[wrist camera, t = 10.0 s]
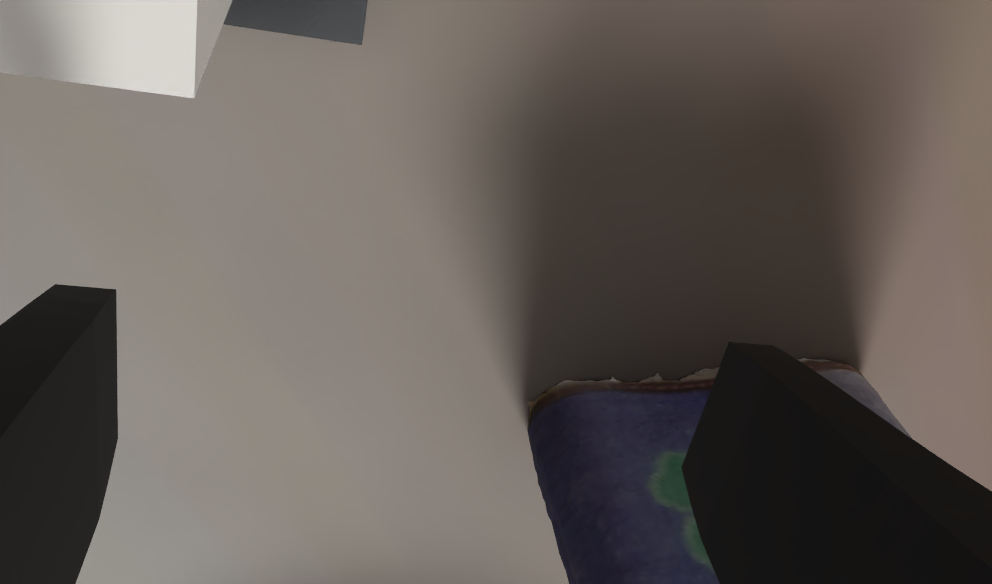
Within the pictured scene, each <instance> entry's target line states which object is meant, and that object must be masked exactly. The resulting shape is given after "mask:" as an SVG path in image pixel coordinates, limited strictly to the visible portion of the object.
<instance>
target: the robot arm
mask: <svg viewBox="0 0 992 584" xmlns="http://www.w3.org/2000/svg"><path fill="white" fill-rule="evenodd" d="M117 439H118V416H117V324H116V290H115V289H103V288H92V287H80V286H68V285H57V284H55V285H54V286H52V287H51V288H50V289H48V290H47V291H45V292H44V293H43V294H41V295H40V296H39V297H37V298H36V299H34V300H33V301H32V302H30V303H29V304H28V305H26V306H25V307H24V308H22V309H21V310H20V311H19V312H17V313H16V314H15V315H13V316H12V317H11V318H9V319H8V320H7V321H6V322H4V323H3V324H2V325H0V584H75V583H76V580H77V578H78V575H79V572H80V570H81V567H82V564H83V561H84V559H85V556H86V553H87V551H88V548H89V545H90V543H91V540H92V537H93V534H94V532H95V529H96V526H97V523H98V520H99V517H100V513H101V509H102V505H103V501H104V496H105V492H106V488H107V484H108V480H109V475H110V471H111V466H112V462H113V457H114V453H115V448H116V444H117ZM681 468H682V472H683V476H684V480H685V484H686V488H687V492H688V496H689V500H690V504H691V507H692V511H693V514H694V518H695V521H696V524H697V528H698V531H699V534H700V538H701V540H702V543H703V545H704V548H705V550H706V553H707V555H708V557H709V560H710V562H711V564H712V567H713V569H714V571H715V574H716V576H717V578H718V581H719V583H720V584H992V491H990V490H988V489H987V488H985V487H984V486H982V485H981V484H979V483H978V482H976V481H974V480H973V479H971V478H970V477H968V476H967V475H965V474H963V473H962V472H960V471H959V470H957V469H956V468H954V467H953V466H951V465H950V464H948V463H947V462H945V461H944V460H942V459H941V458H939V457H938V456H936V455H935V454H933V453H932V452H930V451H929V450H927V449H926V448H925V447H923V446H922V445H920V444H919V443H917V442H916V441H914V440H913V439H912V438H910V437H909V436H907V435H906V434H904V433H903V432H901V431H900V430H899V429H897V428H896V427H894V426H893V425H891V424H890V423H889V422H887V421H886V420H884V419H883V418H882V417H880V416H879V415H877V414H876V413H874V412H873V411H872V410H870V409H869V408H867V407H866V406H865V405H863V404H862V403H860V402H859V401H857V400H856V399H855V398H853V397H852V396H850V395H849V394H847V393H846V392H845V391H843V390H842V389H840V388H839V387H838V386H836V385H835V384H833V383H832V382H830V381H829V380H827V379H826V378H824V377H823V376H822V375H820V374H819V373H817V372H816V371H814V370H813V369H811V368H810V367H808V366H807V365H805V364H803V363H802V362H800V361H799V360H797V359H795V358H794V357H792V356H791V355H789V354H787V353H785V352H784V351H782V350H780V349H778V348H776V347H774V346H768V345H757V344H745V343H733V342H729V344H728V346H727V349H726V352H725V354H724V357H723V359H722V362H721V365H720V367H719V370H718V373H717V375H716V378H715V380H714V383H713V386H712V388H711V391H710V394H709V396H708V399H707V401H706V404H705V407H704V409H703V412H702V414H701V417H700V420H699V422H698V425H697V428H696V430H695V433H694V435H693V438H692V441H691V443H690V446H689V448H688V451H687V454H686V456H685V459H684V462H683V464H682V467H681Z"/></svg>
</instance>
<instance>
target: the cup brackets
mask: <svg viewBox="0 0 992 584" xmlns="http://www.w3.org/2000/svg"><path fill="white" fill-rule="evenodd" d="M366 8H367V0H232V3H231V5H230V8H229V10H228V13H227V15H226V18H225V20H224V23H223V24H226V25H232V26H239V27H245V28H252V29H259V30H265V31H272V32H279V33H285V34H292V35H299V36H305V37H312V38H318V39H325V40H332V41H338V42H345V43H352V44H358V45H362V40H363V32H364V24H365V16H366Z"/></svg>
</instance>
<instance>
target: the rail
mask: <svg viewBox="0 0 992 584" xmlns="http://www.w3.org/2000/svg"><path fill="white" fill-rule="evenodd" d="M231 3H232V0H0V73H6V74H14V75H21V76H29V77H37V78H44V79H52V80H59V81H67V82H74V83H82V84H90V85H97V86H105V87H112V88H120V89H127V90H135V91H143V92H150V93H158V94H165V95H173V96H180V97H188V98H194V97H195V95H196V92H197V90H198V87H199V84H200V82H201V79H202V77H203V74H204V72H205V69H206V67H207V64H208V61H209V59H210V56H211V54H212V51H213V49H214V46H215V43H216V41H217V38H218V36H219V33H220V31H221V28H222V26H223V23H224V20H225V18H226V15H227V13H228V10H229V8H230V5H231Z"/></svg>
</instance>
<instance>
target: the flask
mask: <svg viewBox="0 0 992 584" xmlns="http://www.w3.org/2000/svg"><path fill="white" fill-rule="evenodd" d="M797 360H799V361H800V362H802V363H803V364H805V365H807V366H808V367H810V368H811V369H813V370H814V371H816V372H817V373H819V374H820V375H822V376H823V377H824V378H826V379H827V380H829V381H830V382H832V383H833V384H835V385H836V386H838V387H839V388H840V389H842V390H843V391H845V392H846V393H847V394H849V395H850V396H852V397H853V398H855V399H856V400H857V401H859V402H860V403H862V404H863V405H865V406H866V407H867V408H869V409H870V410H872V411H873V412H874V413H876V414H877V415H879V416H880V417H882V418H883V419H884V420H886V421H887V422H889V423H890V424H891V425H893V426H894V427H896V428H897V429H899V430H900V431H901V432H903V433H904V434H906V435H907V436H909V437H910V435H909V434H908V433H907V432H906V430H905V429H904V428H903V427H902V425H901V424H900V423H899V422H898V420H897V419H896V418H895V416H894V415H893V414H892V413H891V411H890V410H889V409H888V407H887V406H886V404H885V403H884V402H883V400H882V399H881V397H880V396H879V394H878V393H877V392H876V390H875V389H874V388H873V387H872V386H871V385H870V384H869V382H868V381H867V380H866V379H865V377H864V376H863V375H862V374H861V372H859V371H858V370H856V369H855V368H853V367H852V366H850V365H848V364H844V363H838V362H833V361H830V360H825V359H821V360H814V359H811V360H810V359H806V358H802V359H797ZM719 367H720V366H719ZM719 367H717V368H714V369H709V368H704V369H702V370H700V371H698V372H697V371H695V374H694V375H688V376H687V377H685V378H682V379H680V381H677V380H674V381H670V380H663V378H662V377H661V376H660V375H659V374H658V373H657V374H656V375H655V376H653V377H649V378H647V379H645V380H642V381H640V382H631V383H626V382H623V381H619V380H615V378H614V377H611V379H610V380H604V381H601V380H600V381H598V382H597V381H592V380H588V381H571V380H565V381H563V382H560V383H559V384H558V385H557V386H556V385H555V386H553V387H552V388H550V389H549V390H547V392H546V393H545V392H544V393H543V394H541V395H540V396H539V397H538V398H537V399H536V400H533V401H530V402H527V404H528V406H529V407H530V413H529V419H528V420H529V422H528V435H529V441H530V446H531V450H532V455H533V460H534V465H535V470H536V472H537V476H538V484H539V486H540V489H541V492H542V496H543V499H544V501H545V503H546V509H547V513H548V516H549V518H550V519H551V521H552V525H553V529H554V533H555V537H556V541H557V545H558V550H559V554H560V556H561V559H562V562H563V564H564V567H565V570H566V573H567V577H568V581H569V584H720V583H719V581H718V578H717V576H716V574H715V571H714V569H713V567H712V564H711V562H710V560H709V557H708V555H707V553H706V550H705V548H704V545H703V543H702V540H701V538H700V534H699V531H698V528H697V524H696V521H695V518H694V514H693V511H692V507H691V504H690V500H689V496H688V492H687V488H686V484H685V480H684V476H683V472H682V468H681V467H682V464H683V462H684V459H685V456H686V454H687V451H688V448H689V446H690V443H691V441H692V438H693V435H694V433H695V430H696V428H697V425H698V422H699V420H700V417H701V414H702V412H703V409H704V407H705V404H706V401H707V399H708V396H709V394H710V391H711V388H712V386H713V383H714V380H715V378H716V375H717V373H718V370H719ZM910 438H911V437H910Z"/></svg>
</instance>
